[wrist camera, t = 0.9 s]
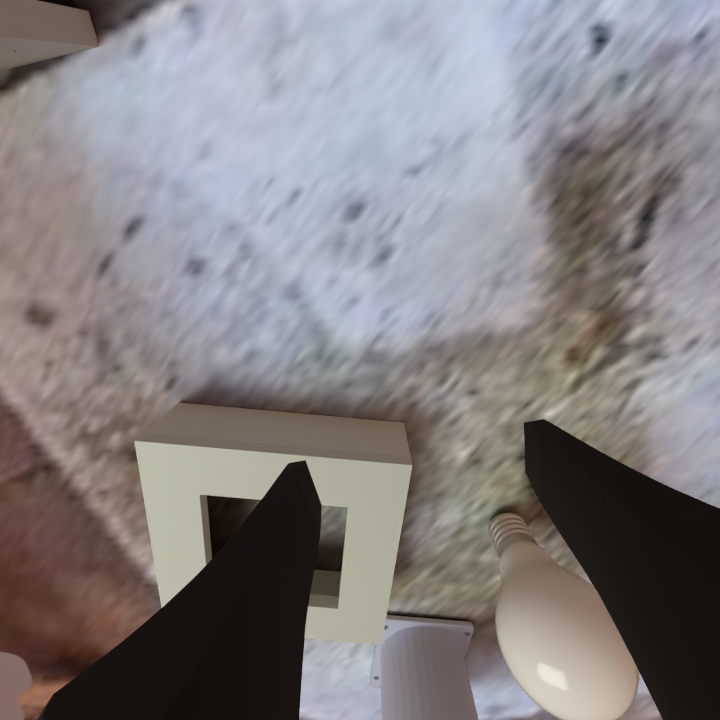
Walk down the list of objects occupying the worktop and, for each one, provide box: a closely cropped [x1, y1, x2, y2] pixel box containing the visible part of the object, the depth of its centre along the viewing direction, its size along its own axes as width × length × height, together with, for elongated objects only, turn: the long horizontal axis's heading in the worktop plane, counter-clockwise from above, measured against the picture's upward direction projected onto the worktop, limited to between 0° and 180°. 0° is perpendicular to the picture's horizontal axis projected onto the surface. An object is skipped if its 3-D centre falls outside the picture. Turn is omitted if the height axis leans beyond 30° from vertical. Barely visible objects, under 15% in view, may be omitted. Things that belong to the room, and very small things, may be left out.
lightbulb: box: [488, 513, 639, 720], centre depth 20 cm, size 6×6×11 cm
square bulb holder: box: [135, 403, 412, 645], centre depth 23 cm, size 15×15×4 cm
